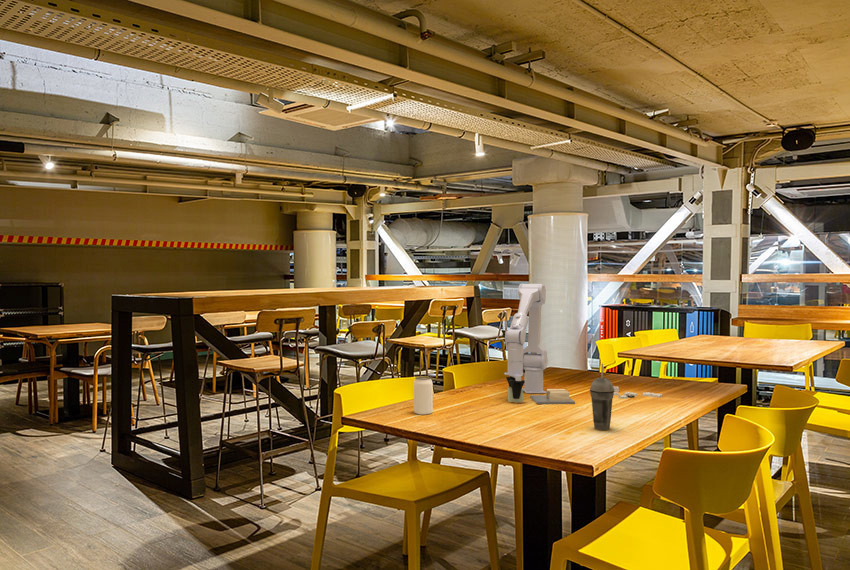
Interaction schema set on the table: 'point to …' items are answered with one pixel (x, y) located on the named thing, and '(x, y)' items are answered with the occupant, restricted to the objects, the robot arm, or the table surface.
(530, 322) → the robot arm
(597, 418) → the beverage cup
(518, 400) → the sage block
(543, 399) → the gray board
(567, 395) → the birch plinth
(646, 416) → the table surface
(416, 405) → the can
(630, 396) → the architectural model
